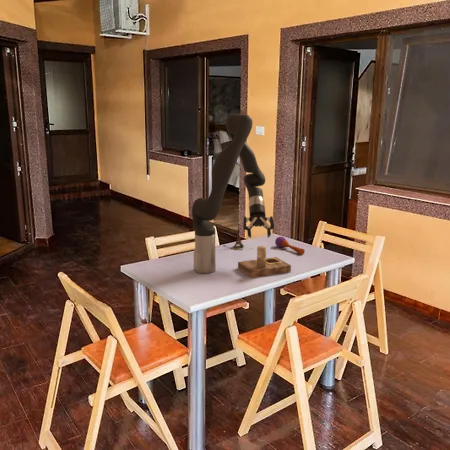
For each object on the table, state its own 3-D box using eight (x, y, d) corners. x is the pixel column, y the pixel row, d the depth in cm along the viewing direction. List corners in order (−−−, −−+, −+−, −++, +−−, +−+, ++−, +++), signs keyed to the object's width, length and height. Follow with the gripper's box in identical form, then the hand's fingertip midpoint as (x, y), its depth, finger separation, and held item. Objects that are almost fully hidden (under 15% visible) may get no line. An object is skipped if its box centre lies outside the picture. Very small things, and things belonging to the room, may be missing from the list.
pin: (259, 268, 213) (259, 248, 211) (255, 265, 216) (255, 246, 214) (267, 267, 214) (267, 247, 212) (263, 264, 218) (263, 245, 216)
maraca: (297, 248, 240) (272, 237, 256) (298, 259, 243) (273, 247, 259) (306, 244, 243) (281, 233, 259) (306, 255, 246) (281, 243, 261)
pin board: (251, 277, 210) (251, 270, 209) (237, 268, 222) (238, 261, 221) (290, 271, 217) (291, 265, 216) (275, 263, 230) (276, 256, 229)
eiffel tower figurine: (221, 246, 260) (221, 222, 257) (236, 243, 266) (236, 220, 263) (238, 252, 248) (238, 227, 245) (253, 249, 254) (254, 225, 251)
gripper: (242, 203, 225) (244, 232, 217) (272, 202, 226) (275, 232, 217) (241, 212, 232) (243, 241, 223) (270, 211, 232) (273, 240, 224)
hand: (259, 236), depth 220 cm, fingers open, 8 cm apart
